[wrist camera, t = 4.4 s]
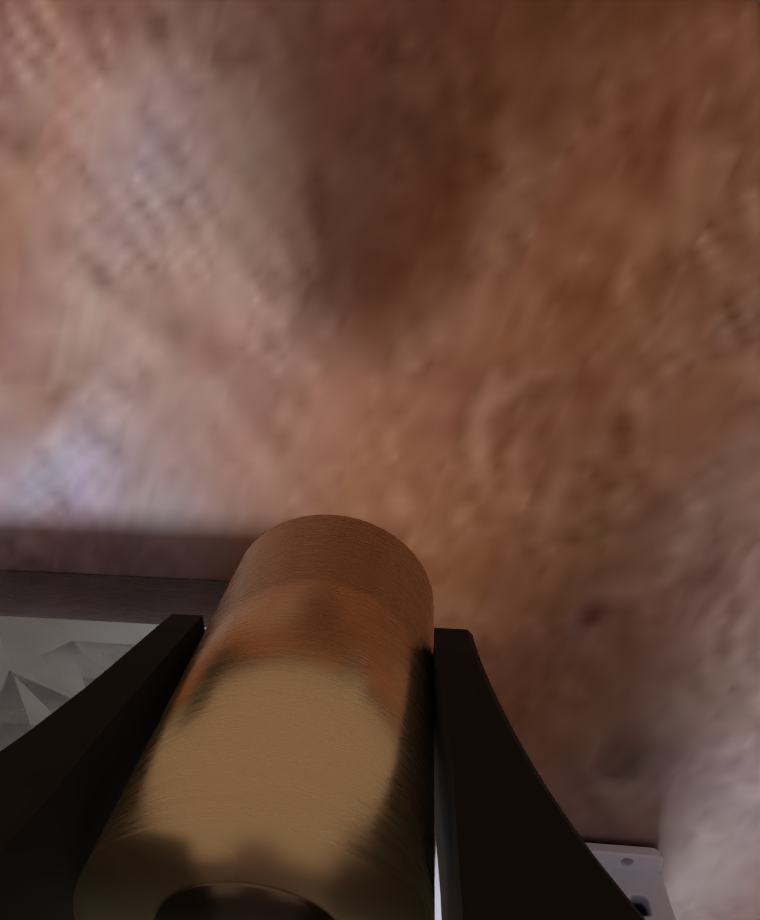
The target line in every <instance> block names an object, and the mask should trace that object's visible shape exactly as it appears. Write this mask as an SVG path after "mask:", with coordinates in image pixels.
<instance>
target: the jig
mask: <svg viewBox="0 0 760 920" xmlns="http://www.w3.org/2000/svg"><path fill="white" fill-rule="evenodd" d="M229 583H230V582H229V581H209V580H189V579H168V578H148V577H128V576H107V575H87V574H67V573H46V572H26V571H6V570H0V751H1V750H3V749H4V748H6V747H7V746H8V745H10V744H11V743H13V742H14V741H16V740H17V739H18V738H20V737H21V736H23V735H24V734H25V733H27V732H28V731H30V730H31V729H32V728H34V727H35V726H36V725H37V724H39V723H40V722H41V721H43V720H44V719H45V718H46V717H48V716H49V715H50V714H52V713H53V712H54V711H56V710H57V709H58V708H59V707H61V706H62V705H63V704H65V703H66V702H67V701H69V700H70V699H71V698H72V697H74V696H75V695H76V694H78V693H79V692H80V691H81V690H83V689H84V688H85V687H86V686H88V685H89V684H90V683H91V682H92V681H94V680H95V679H96V678H97V677H98V676H100V675H101V674H102V673H103V672H104V671H106V670H107V669H108V668H109V667H110V666H112V665H113V664H114V663H115V662H116V661H117V660H119V659H120V658H121V657H122V656H123V655H124V654H126V653H127V652H128V651H129V650H130V649H131V648H133V647H134V646H135V645H136V644H137V643H138V642H140V641H141V640H142V639H143V638H144V637H145V636H147V635H148V634H149V633H150V632H151V631H152V630H153V629H155V628H156V627H157V626H158V625H159V624H160V623H162V622H163V621H164V620H165V619H166V618H168V617H169V616H170V615H171V614H187V615H203V621H204V627H205V630H206V628H207V626H208V624H209V622H210V620H211V618H212V616H213V614H214V613H215V611H216V609H217V607H218V605H219V603H220V601H221V599H222V597H223V595H224V593H225V591H226V589H227V587H228V585H229Z"/></svg>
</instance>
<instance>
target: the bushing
mask: <svg viewBox="0 0 760 920" xmlns="http://www.w3.org/2000/svg"><path fill="white" fill-rule="evenodd" d="M433 647H434V605H433V593H432V587H431V584H430V581H429V578H428V575H427V573H426V571H425V570H424V568H423V566H422V564H421V563H420V561H419V560H418V559H417V557H416V556H415V555H414V553H413V552H412V551H411V550H410V549H409V548H408V547H407V546H406V545H405V544H404V543H402V542H401V541H400V540H399V539H397V538H396V537H395V536H393V535H392V534H390V533H388V532H387V531H385V530H384V529H381V528H379V527H377V526H375V525H373V524H371V523H368V522H365V521H362V520H359V519H355V518H350V517H346V516H338V515H312V516H304V517H300V518H296V519H292V520H289V521H286V522H284V523H281V524H279V525H277V526H275V527H273V528H272V529H270V530H268V531H267V532H265V533H264V534H263V535H261V536H260V537H259V538H258V539H257V540H256V541H255V542H254V543H253V544H252V545H251V546H250V547H249V549H248V550H247V551H246V553H245V554H244V556H243V558H242V560H241V562H240V564H239V566H238V568H237V570H236V571H235V573H234V575H233V577H232V579H231V581H230V583H229V585H228V587H227V589H226V591H225V593H224V595H223V597H222V599H221V601H220V603H219V605H218V607H217V609H216V611H215V613H214V614H213V616H212V618H211V620H210V622H209V624H208V626H207V628H206V630H205V632H204V634H203V636H202V638H201V640H200V642H199V644H198V646H197V648H196V650H195V652H194V654H193V656H192V657H191V659H190V661H189V663H188V665H187V667H186V669H185V671H184V673H183V675H182V677H181V679H180V681H179V683H178V685H177V687H176V689H175V691H174V693H173V695H172V697H171V699H170V700H169V702H168V704H167V706H166V708H165V710H164V712H163V714H162V716H161V718H160V720H159V722H158V724H157V726H156V728H155V730H154V732H153V734H152V736H151V738H150V740H149V742H148V743H147V745H146V747H145V749H144V751H143V753H142V755H141V757H140V759H139V761H138V763H137V765H136V767H135V769H134V771H133V773H132V775H131V777H130V779H129V781H128V783H127V785H126V786H125V788H124V790H123V792H122V794H121V796H120V798H119V800H118V802H117V804H116V806H115V808H114V810H113V812H112V814H111V816H110V818H109V820H108V822H107V824H106V826H105V828H104V829H103V831H102V833H101V835H100V837H99V839H98V841H97V843H96V845H95V847H94V849H93V851H92V853H91V855H90V857H89V859H88V861H87V863H86V865H85V867H84V869H83V871H82V872H81V875H80V877H79V879H78V881H77V883H76V886H75V891H74V896H73V913H74V916H75V920H435V833H434V700H433Z"/></svg>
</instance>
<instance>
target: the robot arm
mask: <svg viewBox="0 0 760 920" xmlns="http://www.w3.org/2000/svg"><path fill="white" fill-rule="evenodd" d="M204 632H205V627H204V621H203V615H187V614H171V615H170V616H169V617H168V618H166V619H165V620H164V621H163V622H162V623H160V624H159V625H158V626H157V627H156V628H155V629H153V630H152V631H151V632H150V633H149V634H148V635H147V636H145V637H144V638H143V639H142V640H141V641H140V642H138V643H137V644H136V645H135V646H134V647H133V648H131V649H130V650H129V651H128V652H127V653H126V654H124V655H123V656H122V657H121V658H120V659H119V660H117V661H116V662H115V663H114V664H113V665H112V666H110V667H109V668H108V669H107V670H106V671H104V672H103V673H102V674H101V675H100V676H98V677H97V678H96V679H95V680H94V681H92V682H91V683H90V684H89V685H88V686H86V687H85V688H84V689H83V690H81V691H80V692H79V693H78V694H76V695H75V696H74V697H72V698H71V699H70V700H69V701H67V702H66V703H65V704H63V705H62V706H61V707H59V708H58V709H57V710H56V711H54V712H53V713H52V714H50V715H49V716H48V717H46V718H45V719H44V720H43V721H41V722H40V723H39V724H37V725H36V726H35V727H34V728H32V729H31V730H30V731H28V732H27V733H25V734H24V735H23V736H21V737H20V738H18V739H17V740H16V741H14V742H13V743H11V744H10V745H8V746H7V747H6V748H4V749H3V750H1V751H0V920H75V916H74V913H73V896H74V891H75V886H76V883H77V881H78V879H79V877H80V875H81V872H82V871H83V869H84V867H85V865H86V863H87V861H88V859H89V857H90V855H91V853H92V851H93V849H94V847H95V845H96V843H97V841H98V839H99V837H100V835H101V833H102V831H103V829H104V828H105V826H106V824H107V822H108V820H109V818H110V816H111V814H112V812H113V810H114V808H115V806H116V804H117V802H118V800H119V798H120V796H121V794H122V792H123V790H124V788H125V786H126V785H127V783H128V781H129V779H130V777H131V775H132V773H133V771H134V769H135V767H136V765H137V763H138V761H139V759H140V757H141V755H142V753H143V751H144V749H145V747H146V745H147V743H148V742H149V740H150V738H151V736H152V734H153V732H154V730H155V728H156V726H157V724H158V722H159V720H160V718H161V716H162V714H163V712H164V710H165V708H166V706H167V704H168V702H169V700H170V699H171V697H172V695H173V693H174V691H175V689H176V687H177V685H178V683H179V681H180V679H181V677H182V675H183V673H184V671H185V669H186V667H187V665H188V663H189V661H190V659H191V657H192V656H193V654H194V652H195V650H196V648H197V646H198V644H199V642H200V640H201V638H202V636H203V634H204ZM433 700H434V821H435V834H436V843H435V920H676V919H675V916H674V913H673V910H672V907H671V904H670V901H669V898H668V895H667V892H666V888H665V885H664V882H663V879H662V876H661V874H660V872H661V869H662V866H663V859H662V856H661V853H660V852H659V851H658V850H657V849H655V848H650V847H637V846H624V845H611V844H599V843H586V842H584V841H583V839H582V838H581V837H580V835H579V834H578V832H577V831H576V830H575V828H574V827H573V825H572V824H571V823H570V821H569V820H568V818H567V817H566V815H565V814H564V812H563V811H562V809H561V808H560V806H559V805H558V804H557V802H556V801H555V799H554V798H553V796H552V794H551V793H550V791H549V790H548V788H547V787H546V785H545V784H544V782H543V780H542V779H541V777H540V775H539V774H538V772H537V771H536V769H535V767H534V766H533V764H532V762H531V760H530V759H529V757H528V755H527V754H526V752H525V750H524V748H523V747H522V745H521V743H520V741H519V740H518V738H517V736H516V734H515V732H514V730H513V729H512V727H511V725H510V723H509V721H508V719H507V717H506V715H505V713H504V711H503V709H502V707H501V705H500V703H499V701H498V699H497V697H496V695H495V693H494V691H493V688H492V686H491V684H490V682H489V679H488V677H487V675H486V672H485V670H484V668H483V665H482V663H481V660H480V657H479V655H478V652H477V649H476V646H475V643H474V639H473V635H472V634H471V633H470V632H469V631H468V630H464V629H445V628H434V647H433Z"/></svg>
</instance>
